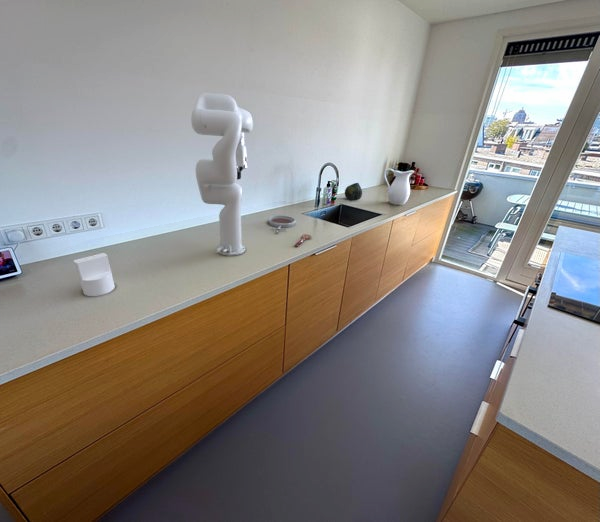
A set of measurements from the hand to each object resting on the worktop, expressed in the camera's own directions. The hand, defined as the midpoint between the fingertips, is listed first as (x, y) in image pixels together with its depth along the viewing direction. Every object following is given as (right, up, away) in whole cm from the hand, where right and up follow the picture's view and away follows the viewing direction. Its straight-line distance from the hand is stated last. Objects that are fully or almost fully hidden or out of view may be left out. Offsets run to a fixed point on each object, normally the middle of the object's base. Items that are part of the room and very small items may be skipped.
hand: (237, 179), depth 154 cm
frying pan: (+22, -23, +18) cm, 37 cm away
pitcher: (+113, +6, +92) cm, 146 cm away
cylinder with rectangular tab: (-36, -54, -54) cm, 85 cm away
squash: (+79, +9, +94) cm, 123 cm away
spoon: (+34, -34, -2) cm, 48 cm away
